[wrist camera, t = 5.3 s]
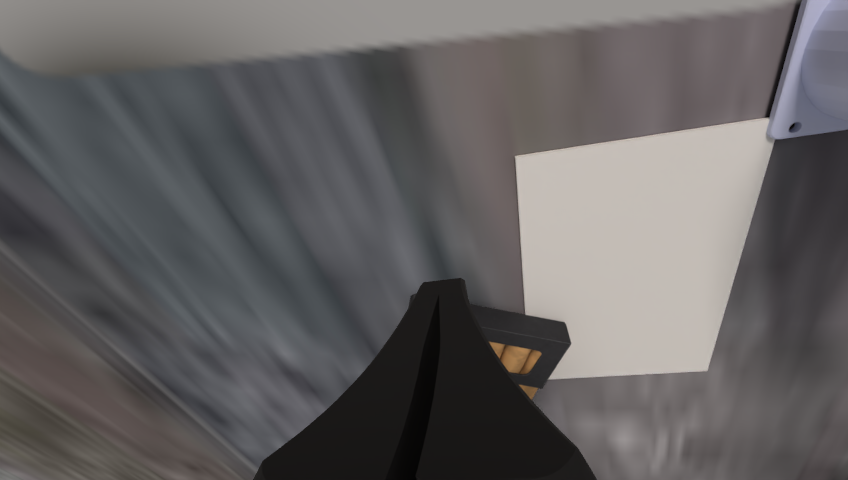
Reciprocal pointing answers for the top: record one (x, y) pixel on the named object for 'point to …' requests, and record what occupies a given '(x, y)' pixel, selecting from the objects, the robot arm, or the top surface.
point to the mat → (639, 243)
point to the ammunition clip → (524, 344)
